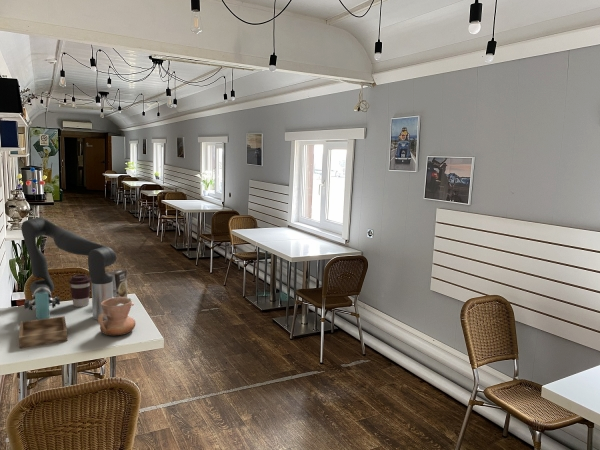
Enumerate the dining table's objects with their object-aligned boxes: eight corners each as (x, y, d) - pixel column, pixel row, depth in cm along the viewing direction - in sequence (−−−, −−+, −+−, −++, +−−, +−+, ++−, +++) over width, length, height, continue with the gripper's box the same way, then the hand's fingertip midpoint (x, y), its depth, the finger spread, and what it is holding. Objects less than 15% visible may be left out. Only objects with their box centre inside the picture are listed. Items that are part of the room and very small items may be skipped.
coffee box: (117, 304, 238) (116, 274, 235) (106, 303, 239) (105, 273, 237) (127, 299, 247) (127, 269, 244) (116, 298, 248) (115, 268, 245)
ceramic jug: (123, 322, 215) (121, 292, 213) (145, 329, 208) (143, 298, 206) (88, 335, 200) (86, 304, 198) (110, 343, 193) (108, 311, 190)
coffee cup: (78, 300, 242) (76, 272, 240) (95, 302, 241) (94, 274, 238) (66, 307, 232) (64, 277, 230) (84, 308, 231) (83, 279, 229)
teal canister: (49, 320, 215) (48, 291, 212) (50, 324, 210) (48, 294, 208) (36, 322, 212) (34, 292, 210) (36, 326, 208) (34, 296, 205)
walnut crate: (65, 325, 209) (64, 316, 208) (67, 340, 194) (66, 330, 193) (21, 331, 201) (20, 321, 200) (19, 348, 186) (18, 337, 185)
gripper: (24, 290, 220) (23, 301, 206) (58, 287, 227) (59, 297, 213) (25, 305, 221) (24, 317, 207) (59, 302, 228) (60, 312, 214)
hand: (42, 307), depth 210 cm, fingers open, 8 cm apart
